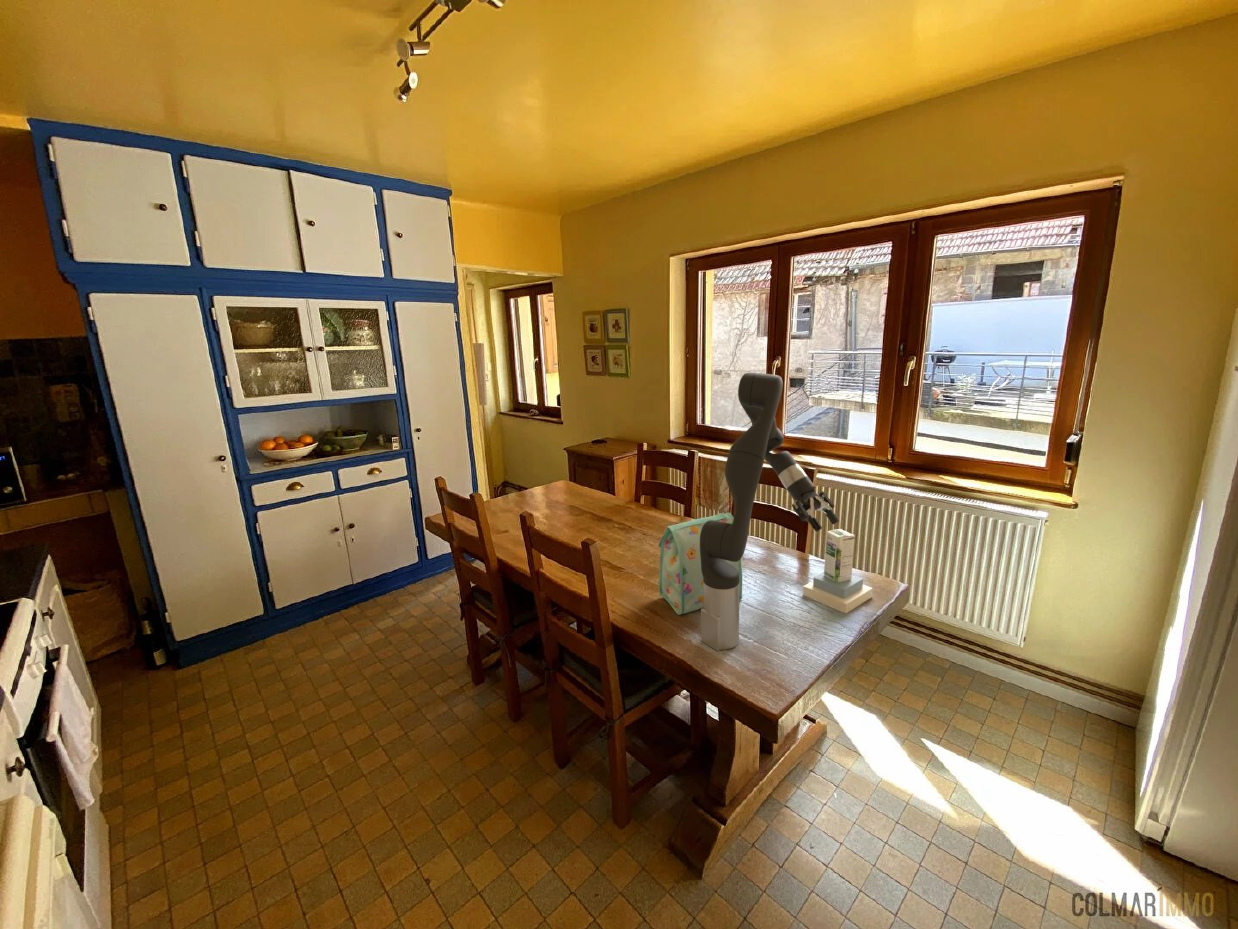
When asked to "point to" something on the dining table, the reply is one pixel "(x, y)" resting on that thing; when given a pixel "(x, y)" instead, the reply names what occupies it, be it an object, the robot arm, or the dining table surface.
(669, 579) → the lunch bag
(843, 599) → the tower base
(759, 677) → the dining table surface
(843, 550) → the syrup box
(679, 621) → the dining table surface
